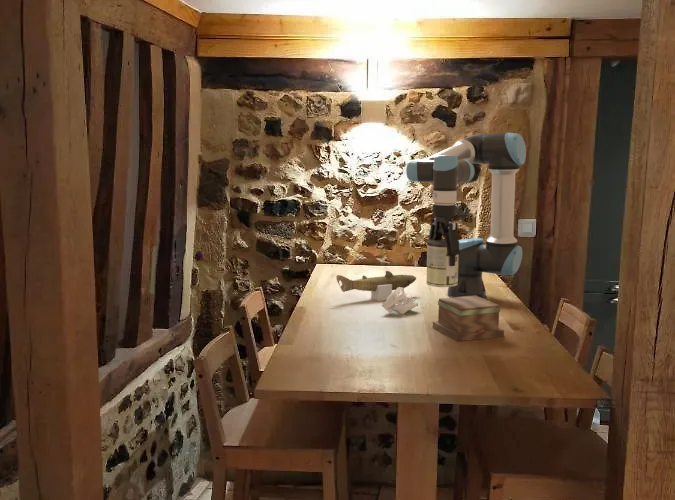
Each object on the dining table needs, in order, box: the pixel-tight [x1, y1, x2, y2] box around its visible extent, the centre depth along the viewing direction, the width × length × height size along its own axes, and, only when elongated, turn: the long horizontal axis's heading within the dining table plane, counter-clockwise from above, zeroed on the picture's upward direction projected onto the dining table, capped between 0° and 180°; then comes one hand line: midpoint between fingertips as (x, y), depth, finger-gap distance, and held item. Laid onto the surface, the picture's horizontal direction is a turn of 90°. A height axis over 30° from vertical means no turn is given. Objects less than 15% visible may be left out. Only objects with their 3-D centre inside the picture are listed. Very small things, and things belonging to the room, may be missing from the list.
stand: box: [432, 295, 505, 342], centre depth 204 cm, size 17×16×10 cm
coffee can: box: [426, 238, 459, 288], centre depth 202 cm, size 10×10×14 cm
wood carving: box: [335, 270, 417, 302], centre depth 247 cm, size 9×35×11 cm, turn 114°
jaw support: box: [380, 287, 419, 315], centre depth 229 cm, size 12×9×10 cm
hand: (442, 272), depth 203 cm, fingers closed on coffee can, 10 cm apart
